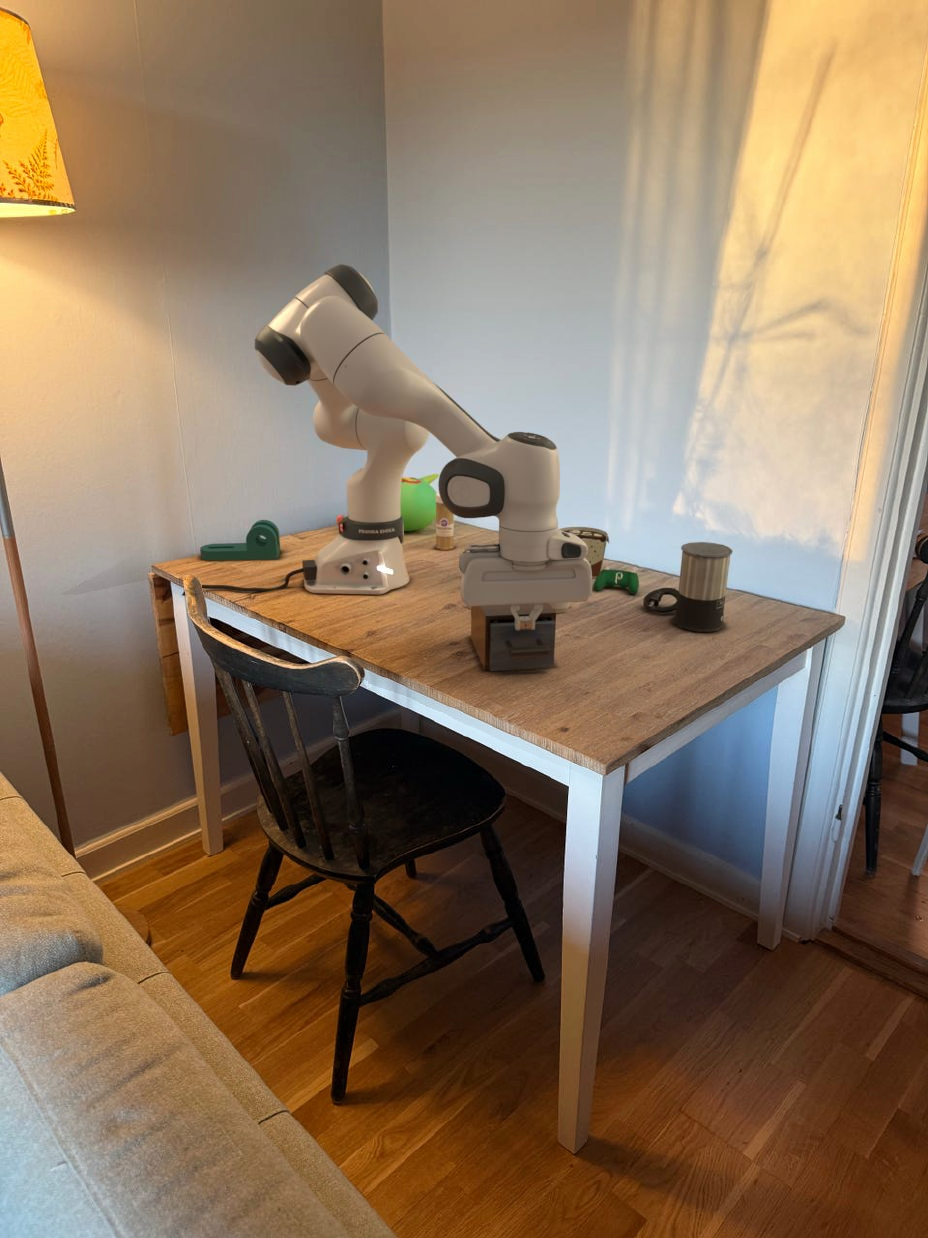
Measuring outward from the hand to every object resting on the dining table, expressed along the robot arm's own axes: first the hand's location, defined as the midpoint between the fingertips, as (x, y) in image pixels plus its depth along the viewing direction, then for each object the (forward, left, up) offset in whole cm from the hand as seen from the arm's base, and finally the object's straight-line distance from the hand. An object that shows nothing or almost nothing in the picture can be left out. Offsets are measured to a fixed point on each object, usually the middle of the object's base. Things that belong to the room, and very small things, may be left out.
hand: (524, 629), depth 129 cm
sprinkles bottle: (-3, +77, -9) cm, 78 cm away
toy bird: (-11, +96, -9) cm, 97 cm away
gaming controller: (+29, +41, -9) cm, 51 cm away
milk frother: (+36, +23, -9) cm, 44 cm away
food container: (+24, +53, -9) cm, 59 cm away
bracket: (-52, +76, -9) cm, 92 cm away
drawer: (0, +6, -8) cm, 10 cm away
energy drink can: (+13, +31, -9) cm, 35 cm away
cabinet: (0, +11, -9) cm, 14 cm away
